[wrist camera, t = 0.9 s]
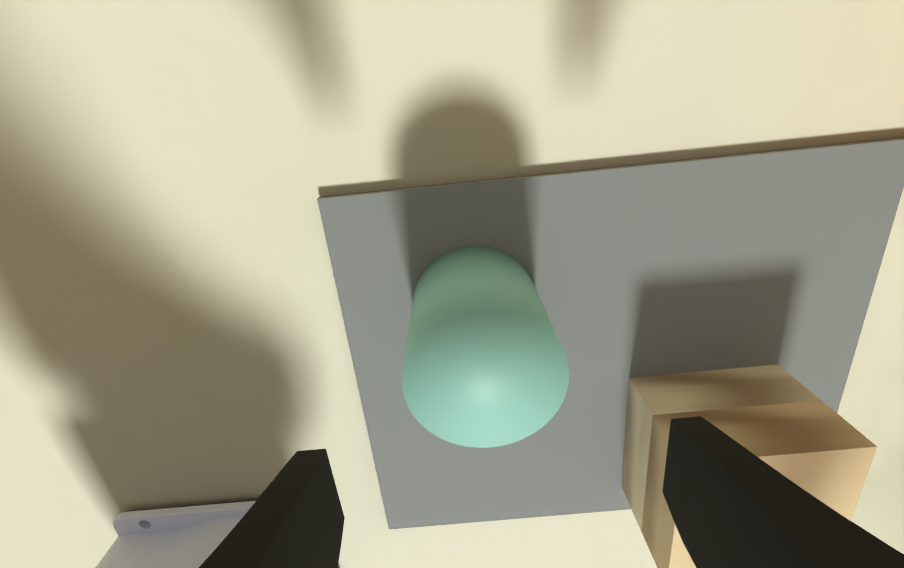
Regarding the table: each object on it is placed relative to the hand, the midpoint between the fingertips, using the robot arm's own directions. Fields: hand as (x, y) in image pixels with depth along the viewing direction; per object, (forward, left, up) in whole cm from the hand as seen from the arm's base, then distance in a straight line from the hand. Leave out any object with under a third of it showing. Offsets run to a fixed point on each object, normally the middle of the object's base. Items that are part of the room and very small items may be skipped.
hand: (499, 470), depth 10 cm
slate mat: (+5, -4, -8) cm, 10 cm away
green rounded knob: (0, 0, -8) cm, 8 cm away
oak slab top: (+9, -7, -6) cm, 13 cm away
